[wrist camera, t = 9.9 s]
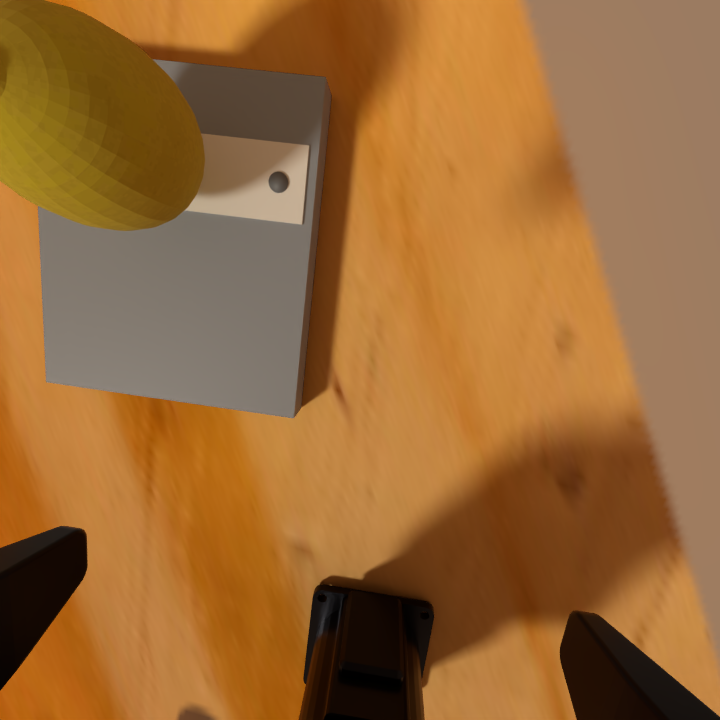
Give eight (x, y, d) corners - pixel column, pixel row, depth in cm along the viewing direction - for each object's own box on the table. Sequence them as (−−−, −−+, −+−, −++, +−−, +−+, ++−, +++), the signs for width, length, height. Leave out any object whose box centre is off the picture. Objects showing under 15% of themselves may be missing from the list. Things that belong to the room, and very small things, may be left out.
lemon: (117, 81, 15) (-169, -131, 7) (250, 118, 15) (103, -58, 7) (100, 223, 16) (-163, 167, 9) (224, 257, 16) (72, 234, 8)
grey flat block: (301, 407, 19) (292, 419, 17) (71, 374, 20) (43, 382, 18) (331, 95, 16) (325, 74, 15) (61, 67, 17) (26, 44, 15)
